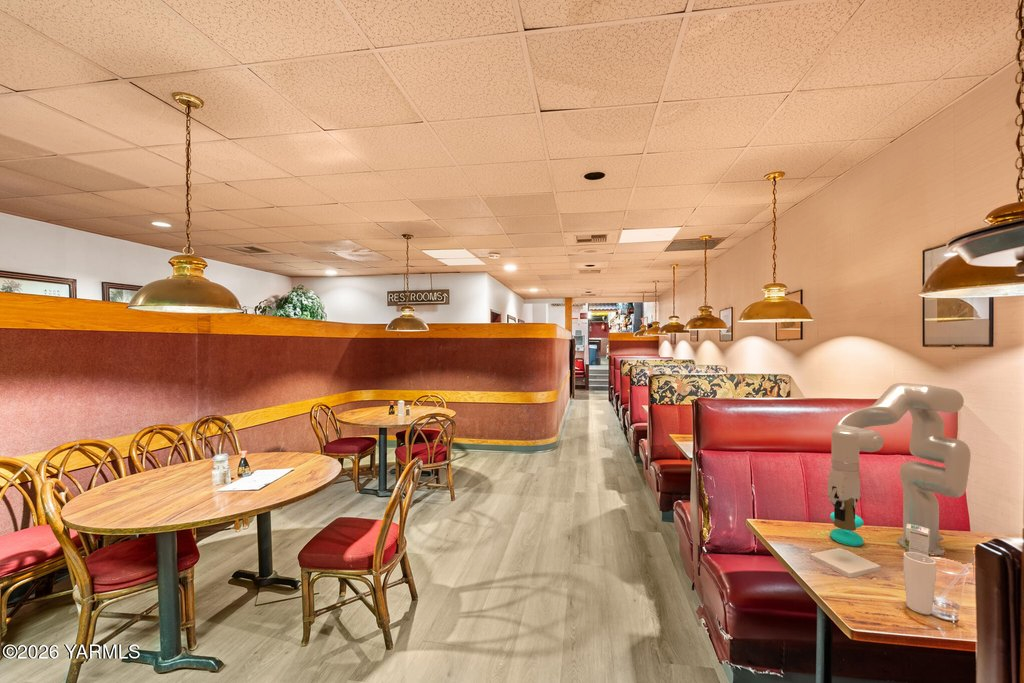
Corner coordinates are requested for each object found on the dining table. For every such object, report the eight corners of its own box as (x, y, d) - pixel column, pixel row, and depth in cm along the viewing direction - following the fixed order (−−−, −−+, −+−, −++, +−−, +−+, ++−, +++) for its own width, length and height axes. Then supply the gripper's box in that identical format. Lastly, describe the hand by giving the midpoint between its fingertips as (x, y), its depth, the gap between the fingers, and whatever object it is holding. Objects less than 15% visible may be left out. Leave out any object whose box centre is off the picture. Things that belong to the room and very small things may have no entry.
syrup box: (905, 564, 144) (905, 522, 144) (929, 571, 140) (929, 528, 140) (904, 571, 140) (904, 527, 140) (929, 578, 136) (929, 533, 136)
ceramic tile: (840, 551, 153) (840, 547, 153) (880, 570, 140) (880, 565, 140) (810, 558, 148) (810, 553, 148) (849, 578, 136) (849, 573, 136)
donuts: (854, 511, 165) (869, 522, 155) (854, 536, 165) (869, 549, 155) (825, 508, 167) (838, 519, 157) (825, 534, 167) (838, 545, 157)
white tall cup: (896, 602, 123) (896, 551, 123) (917, 601, 123) (917, 551, 123) (920, 618, 116) (921, 564, 116) (943, 616, 117) (943, 563, 117)
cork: (860, 531, 141) (860, 498, 140) (839, 529, 142) (839, 497, 142) (849, 523, 146) (849, 492, 146) (829, 522, 148) (830, 490, 148)
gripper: (850, 460, 150) (849, 511, 150) (816, 464, 145) (816, 517, 145) (874, 466, 143) (873, 520, 143) (839, 471, 138) (838, 526, 138)
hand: (844, 518), depth 144 cm, fingers closed on cork, 4 cm apart
